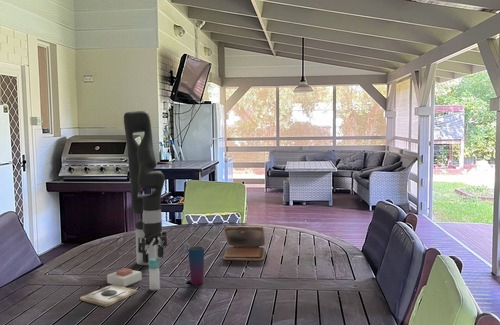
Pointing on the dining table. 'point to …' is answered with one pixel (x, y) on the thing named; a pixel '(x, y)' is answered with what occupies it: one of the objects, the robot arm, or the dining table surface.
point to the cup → (196, 264)
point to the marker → (154, 274)
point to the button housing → (124, 278)
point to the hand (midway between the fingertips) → (153, 259)
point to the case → (245, 243)
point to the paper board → (108, 295)
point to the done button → (124, 271)
